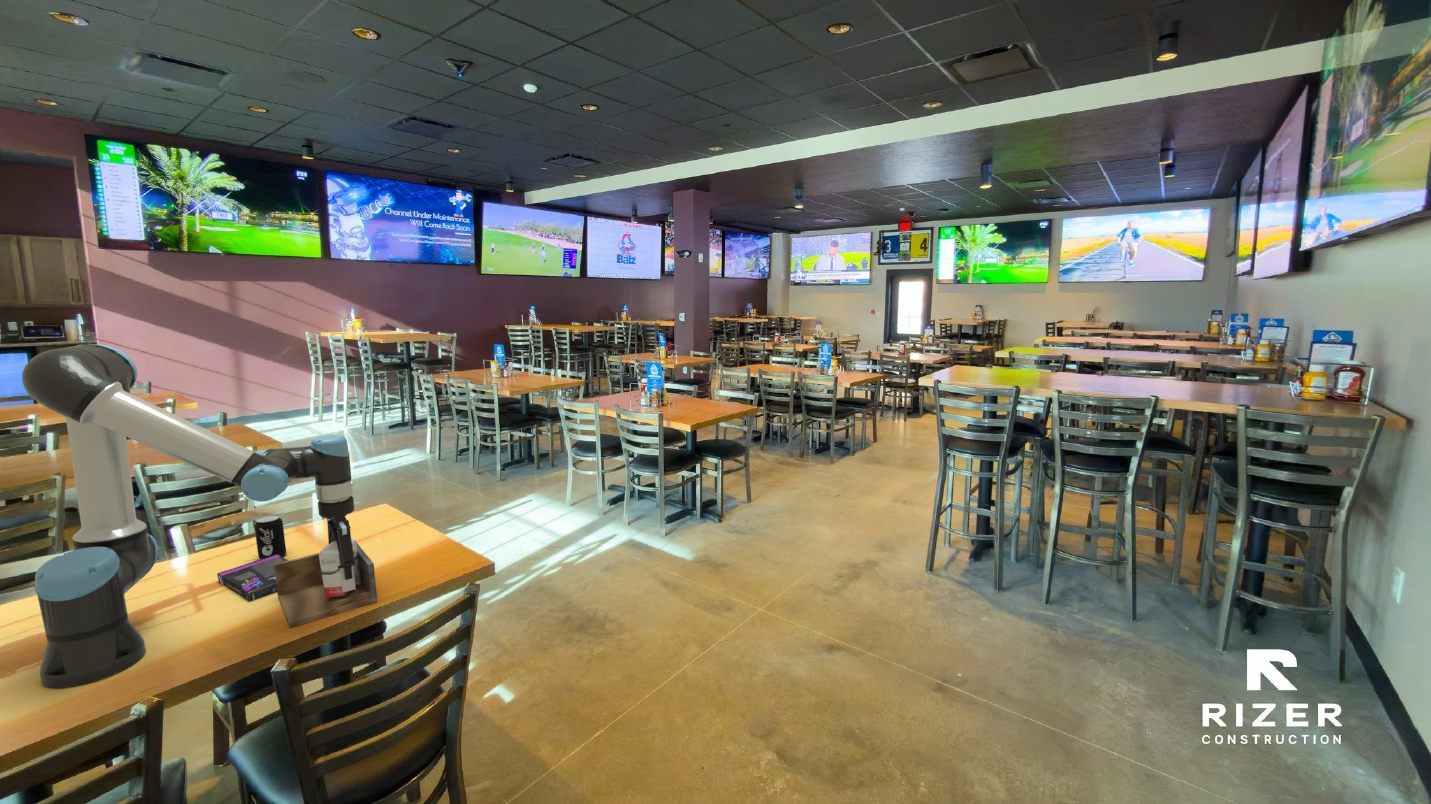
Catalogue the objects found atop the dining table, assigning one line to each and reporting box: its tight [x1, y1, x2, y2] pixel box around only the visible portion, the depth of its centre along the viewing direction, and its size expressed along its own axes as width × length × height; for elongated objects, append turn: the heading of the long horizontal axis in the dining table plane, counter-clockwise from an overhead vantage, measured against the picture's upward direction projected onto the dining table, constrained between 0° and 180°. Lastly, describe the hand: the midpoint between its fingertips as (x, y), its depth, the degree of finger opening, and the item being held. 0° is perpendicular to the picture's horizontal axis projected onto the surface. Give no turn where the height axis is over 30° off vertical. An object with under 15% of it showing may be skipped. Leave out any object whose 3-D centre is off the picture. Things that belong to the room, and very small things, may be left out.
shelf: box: [274, 541, 378, 628], centre depth 152 cm, size 18×19×10 cm
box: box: [216, 554, 289, 602], centre depth 162 cm, size 14×4×20 cm
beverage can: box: [253, 514, 287, 560], centre depth 175 cm, size 7×7×12 cm
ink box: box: [318, 538, 361, 597], centre depth 152 cm, size 8×5×12 cm, turn 6°
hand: (344, 583), depth 154 cm, fingers closed on ink box, 9 cm apart
